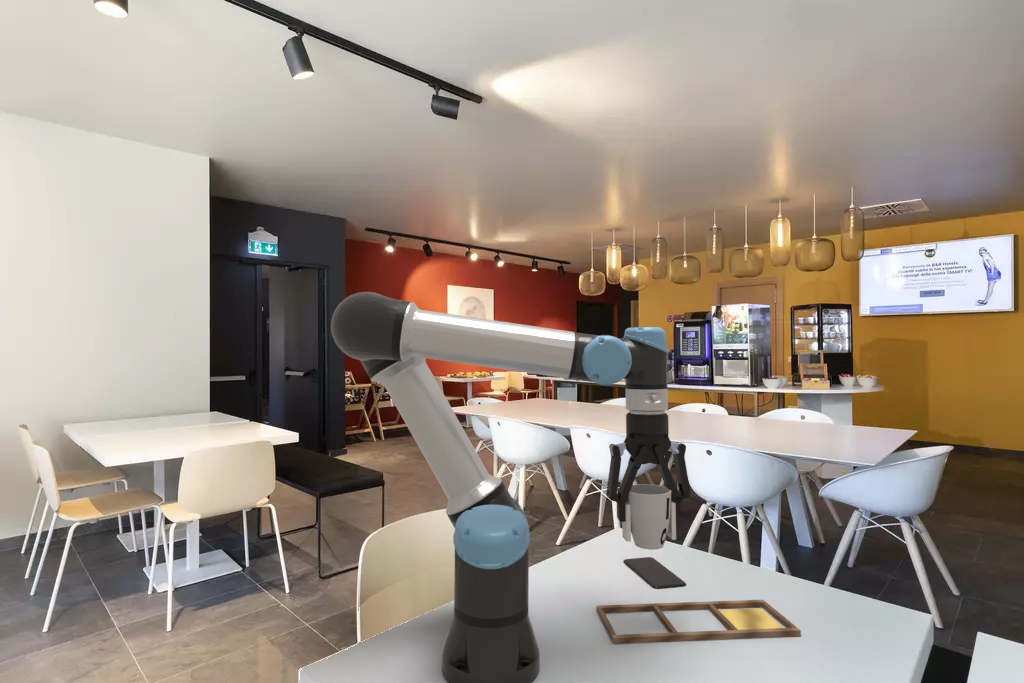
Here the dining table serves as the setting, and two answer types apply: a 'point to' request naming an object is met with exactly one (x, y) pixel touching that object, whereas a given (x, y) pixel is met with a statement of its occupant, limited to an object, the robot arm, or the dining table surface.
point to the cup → (649, 515)
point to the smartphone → (654, 573)
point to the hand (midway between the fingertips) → (649, 538)
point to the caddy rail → (734, 620)
